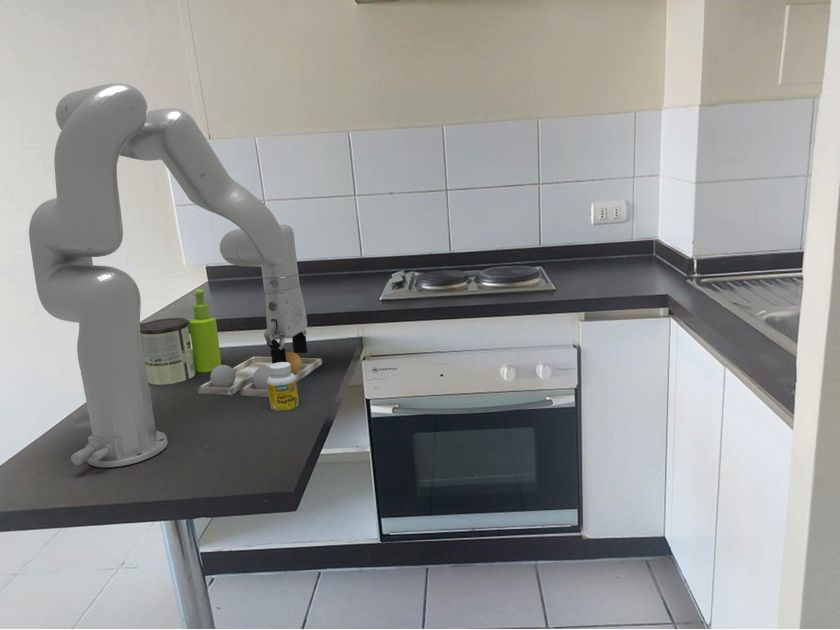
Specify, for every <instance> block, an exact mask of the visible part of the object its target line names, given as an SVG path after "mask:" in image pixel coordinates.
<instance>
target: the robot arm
mask: <svg viewBox="0 0 840 630" xmlns="http://www.w3.org/2000/svg"><path fill="white" fill-rule="evenodd" d="M55 119H56V123H57V126H58V127H59V130H60V133H59V135H58V138H57V141H56V145H55V150H54V163H53V164H54V178H55V189H56V190H55V192H56V197H55V198H51V199H49V200H47V201H44V202H43V203H41V204H40V205H39V206H38V207H37V208H36V209H35V210H34V212H33V213H32V216H31V218H30V222H29V229H28V238H29V245H30V252H31V253H30V254H31V260H32V268H33V273H34V280H35V287H36V293H37V295H38V299H39V301H40V304H41V305H42V307H43V308H44V310H45V311H46V312H47V313H48V314H49V315H51V316H52V317H54V318H56V319H57V320H61V321H64V322H65V321H66V322H70V323H71V322H72V323H77V324H79V325H78V336H77V343H76V344H77V345H76V352H77V361H78V365H79V369H80V370H79V371H80V376H81V380H82V385H83V391H84V396H85V402H86V406H87V407H86V408H87V412H88V418H89V422H90V428H91V433H92V434H91V435H90V436H87V441H88V443H87V444H86V445H85V447H84V448H82V449H80V450H78V451H76V452H74V453H72V454H71V456H70V460H71V462H72V463H73V464H74V465H76V466H79V465H81V464H83V463H84V462H86V463H88V465H91V466H93V467H97V468H117V467H124V466H128V465H133V464H137V463H140V462H143V461H145V460H147V459H148V460H149V459H151V458H153V457H154V456H156V455H159V454H160V453H161V452H162V451H163V450H165V448H166V447H167V445H168V442H169V441H168V436H167V434H165V433H164V432H162V431H160V430H157V427H156V423H155V415H154V410H153V405H152V397H151V392H150V385H149V383H148V379H147V372H146V366H145V360H144V355H143V349H142V342H141V333H140V325H141V308H142V307H141V305H142V303H141V294H140V293H141V292H140V289H139V286H138V284H137V283H136V281H135V280H134V279H133V277H132V276H130V274H128V273H127V272H125V271H124V270H121V269H119V268H117V267H113V266H107V265H94V262H93V258H100V257H105V256H109V255H112V254H113V253H115V252H116V251H117V250H118V249H119V248H120V246H121V245H122V243H123V238H124V225H123V218H122V210H121V202H120V192H119V185H118V184H119V183H118V162H119V158H120V156H121V157H124V158H125V157H126V158H129V159H133V160H139V161H146V162H147V161H149V162H150V161H159V160H160V161H162V162H163V164H164V165H165V167H166V168H167V169H168V170H169V173H171V175H172V177H173V178H174V179H175V181H176V182H177V184H178V185H179V186H180V188H181V190H182V191H183V192H184V193H185V195H186V197H187V198H188V199H189V201H190V202H191V203H193V204H194V205H196V206H198V207H199V208H201V209H204V210H205V211H207V212H211V213H213V214H216V215H218V216H220V217H223V218H225V219H226V220H229V221H230V222H231V223H233V224H235V225H236V226H237V227H238V228H237V229H233V230H230V231H228V232H227V233H225V235H224V236H223V237H222V238H221V240H220V243H219V252H220V255H221V257H222V258H223V260H224V261H226V262H227V263H229V264H231V265H232V266H238V267H261V274H262V275H261V276H262V283H263V290H264V293H265V305H264V306H265V320H266V329H265V331H264V333H263V337H264V339H265V341H266V345H267V346H268V349H269V351H270V355H271V356H270V357H272V364H274V363H279V362H287V360H286V352H287V351H286V348H284V345H285V341H286V339H291V341H292V349H293V352H294V353H296V354H307V353H308V345H307V330H306V329H307V327H308V318H307V316H308V315H307V311H306V305H305V301H304V297H303V293H302V288H301V286H300V277H299V268H298V267H299V266H298V260H297V250H296V242H295V240H296V239H295V233H294V229H293V228H292V227H291V226H290V225H288V224H279V221H277V218H276V217H275V215H274V214H273V212H272V211H271V209H270V208H268V206H267V205H266V204H265V203H264V202H263V201H261V199H259V198H258V197H256V195H254V194H253V193H251V191H249V190H248V189H247V188H245V187H244V186H243V185H241V184H240V183H239V182H237V181H235V180H234V179H233V178H232V177H231V176H230V175H229V173H228V171H227V170H226V168H225V166H224V165H223V164H222V163H223V162H221V161H220V158H219V157H218V156H217V154H216V153H215V150H213V148H212V146H211V145H210V143H209V141H208V140H207V138H206V137H205V135H204V134H203V132H202V130H201V128H200V127H199V126H198V124H197V122H196V121H195V120H194V118H193V117H192V116H191V114H189V113H188V112H186V111H185V110H182V109H179V108H172V107H171V108H169V107H168V108H161V109H160V108H159V109H154V110H149V111H148V104H147V100H146V98H145V96H144V95H143V93H142V92H141V91H140V90H138V88H136V87H135V86H132V85H129V84H127V83H123V82H121V83H119V82H112V83H106V84H102V85H101V84H100V85H96V86H93V87H90V88H84V89H80V90H75V91H72V92H70V93H68V94H66V95H63V97H62V98H61V99H60V100H59V101H58V103H57V105H56V108H55ZM278 340H279V341H278Z"/></svg>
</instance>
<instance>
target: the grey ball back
mask: <svg viewBox="0 0 840 630" xmlns="http://www.w3.org/2000/svg"><path fill="white" fill-rule="evenodd" d="M232 368H233V367H231V366H229V365H227V364H221V365H219V366H217V367H215V368H214V369H213V371H210V380H211V382H212V384H213V385H214V386H215V387H221V388H228V387H230V386H231V385H232V384H233V383H234V381H235V372H234V370H233V369H232Z"/></svg>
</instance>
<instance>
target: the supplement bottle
mask: <svg viewBox="0 0 840 630" xmlns="http://www.w3.org/2000/svg"><path fill="white" fill-rule="evenodd" d="M269 372H270V374H271V376H269V378H268V379H267V385H268V392H269V397H268V399H269V407H270V409H271V410H273V411H276V412H286V411H290V410H292V409H295V408H297V407H298V406H299V405H300V402H299V392H298V385H297V382H296V377H295V375H294V374H293V373H290V372H291V364H290V363H288V362H279V363H274V364H271V365H270V366H269Z"/></svg>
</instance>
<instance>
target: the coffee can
mask: <svg viewBox="0 0 840 630" xmlns="http://www.w3.org/2000/svg"><path fill="white" fill-rule="evenodd" d="M140 333H141V342H142V349H143V355H144V360H145V366H146V372H147V379H148V384H152V385H171V384H177V383H180V382H184V381H187V380H189V379H191V378H193V377H194V376H195V375H196V371H195V365H194V357H193V349H192V342H191V335H190V328H189V320H188V318H185V317H168V318H162V319H161V318H160V319H154V320H150V321H147V322H144V323H140Z"/></svg>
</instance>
